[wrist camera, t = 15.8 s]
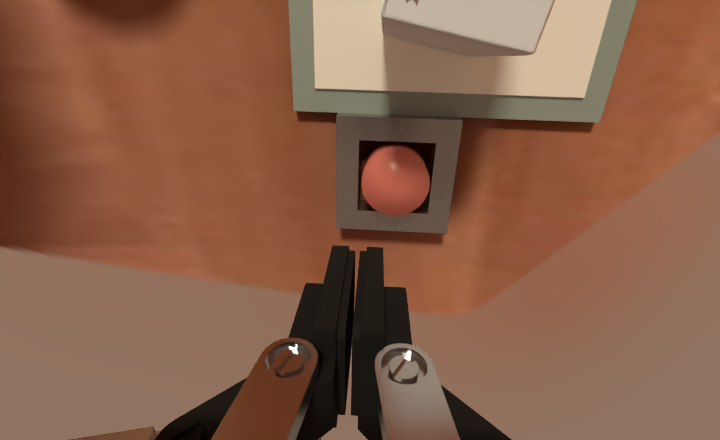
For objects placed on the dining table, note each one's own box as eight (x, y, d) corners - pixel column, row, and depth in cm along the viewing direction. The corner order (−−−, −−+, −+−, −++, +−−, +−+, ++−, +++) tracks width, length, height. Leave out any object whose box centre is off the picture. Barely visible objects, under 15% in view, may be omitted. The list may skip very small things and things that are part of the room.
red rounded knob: (364, 139, 25) (362, 149, 22) (428, 142, 25) (433, 152, 22) (362, 198, 27) (360, 214, 24) (421, 201, 27) (426, 217, 24)
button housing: (339, 110, 25) (336, 115, 23) (457, 115, 24) (463, 120, 23) (339, 216, 28) (336, 228, 26) (442, 221, 28) (446, 233, 26)
